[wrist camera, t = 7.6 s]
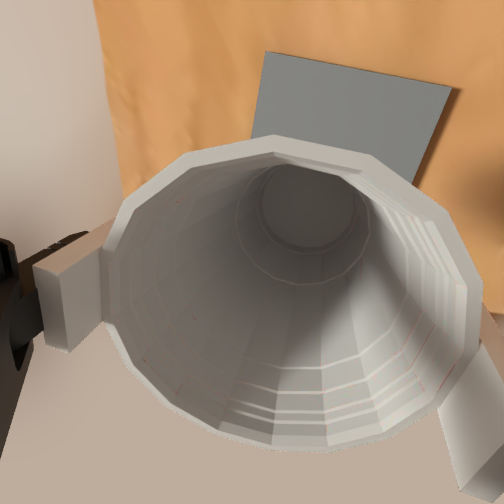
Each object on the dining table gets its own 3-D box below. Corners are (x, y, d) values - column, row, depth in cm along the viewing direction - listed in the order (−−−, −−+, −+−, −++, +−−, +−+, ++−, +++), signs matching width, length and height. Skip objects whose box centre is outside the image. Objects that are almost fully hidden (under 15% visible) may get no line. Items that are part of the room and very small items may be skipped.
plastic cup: (393, 294, 21) (438, 503, 10) (228, 275, 23) (132, 429, 13) (431, 103, 16) (586, 141, 6) (217, 105, 18) (51, 134, 8)
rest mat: (449, 87, 26) (452, 87, 26) (381, 250, 34) (381, 254, 33) (267, 51, 29) (265, 51, 28) (240, 212, 36) (238, 215, 35)
